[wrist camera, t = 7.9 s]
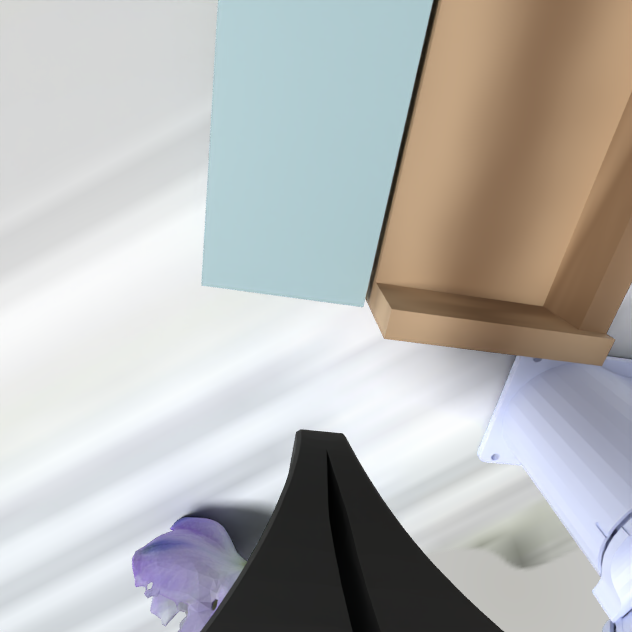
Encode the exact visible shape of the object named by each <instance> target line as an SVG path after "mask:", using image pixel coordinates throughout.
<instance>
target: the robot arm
mask: <svg viewBox="0 0 632 632" xmlns="http://www.w3.org/2000/svg"><path fill="white" fill-rule="evenodd" d="M493 454H495V455H493ZM477 455H478V457H479V459H480V460H481V461H483V462H490V463H501V464H512V465H522V467H523V468H524V469H525V471H526V472H527V474H528V475H529V477H530V478H531V479H532V481H533V482H534V484H535V485H536V486H537V488H538V489H539V491H540V492H541V494H542V495H543V496H544V498H545V499H546V501H547V502H548V503H549V505H550V506H551V508H552V509H553V510H554V512H555V513H556V515H557V516H558V518H559V519H560V520H561V522H562V523H563V525H564V526H565V527H566V529H567V530H568V532H569V533H570V535H571V536H572V537H573V539H574V540H575V542H576V543H577V544H578V546H579V547H580V549H581V550H582V552H583V553H584V554H585V556H586V557H587V559H588V560H589V561H590V563H591V564H592V566H593V567H594V569H595V570H596V571H597V573H598V574H599V576H600V577H601V578H600V581H599V582H598V584H597V585H596V586H595V588H594V589H593V590H592V593H593V594H594V596H595V597H596V599H597V600H598V602H599V603H600V605H601V606H602V608H603V609H604V611H605V612H606V614H607V615H608V617H609V618H610V619H609V620H607V622H606V623H605V624H604V626H603V629H602V632H632V359H625V358H617V357H609V356H607V357H606V359H605V361H604V363H603V365H602V366H596V365H588V364H581V363H573V362H565V361H557V360H549V359H541V358H535V359H533V357H525V356H516V359H515V361H514V364H513V366H512V368H511V371H510V373H509V376H508V378H507V381H506V383H505V386H504V388H503V391H502V393H501V396H500V398H499V400H498V403H497V405H496V408H495V410H494V413H493V415H492V418H491V420H490V423H489V425H488V427H487V430H486V432H485V435H484V437H483V440H482V442H481V445H480V447H479V450H478V453H477ZM492 455H493V456H492ZM200 632H504V631H502V630H501V629H500V628H499V627H498V626H497V625H496V624H495V623H493V622H492V621H491V620H490V619H489V618H488V617H487V616H486V615H484V613H482V612H481V611H480V610H479V609H478V608H477V607H476V606H475V605H474V604H473V603H472V602H471V601H470V600H468V599H467V598H466V597H465V596H464V595H463V594H462V593H461V592H460V591H459V590H458V589H457V588H456V587H455V586H454V585H453V584H452V583H451V581H450V580H449V579H448V578H447V577H446V576H445V575H444V574H443V573H442V572H441V571H440V570H439V569H438V568H437V567H436V566H435V565H434V564H433V563H432V562H431V561H430V559H429V558H428V557H427V556H426V555H425V554H424V553H423V551H422V550H421V549H420V548H419V547H418V545H417V544H416V543H415V542H414V541H413V539H412V538H411V537H410V536H409V534H408V533H407V532H406V531H405V529H404V528H403V527H402V525H401V524H400V523H399V521H398V520H397V519H396V517H395V516H394V515H393V513H392V512H391V510H390V509H389V508H388V506H387V505H386V503H385V502H384V500H383V499H382V497H381V496H380V494H379V493H378V491H377V490H376V488H375V487H374V485H373V484H372V482H371V480H370V479H369V477H368V476H367V474H366V472H365V471H364V469H363V467H362V466H361V464H360V462H359V460H358V459H357V457H356V455H355V453H354V452H353V450H352V448H351V446H350V444H349V442H348V441H347V439H346V437H345V436H344V434H343V433H332V432H322V431H312V430H299V431H297V432H296V436H295V441H294V447H293V452H292V458H291V463H290V469H289V474H288V477H287V480H286V483H285V486H284V488H283V491H282V493H281V495H280V498H279V500H278V503H277V505H276V507H275V510H274V512H273V514H272V516H271V518H270V520H269V522H268V524H267V526H266V528H265V530H264V532H263V534H262V536H261V538H260V540H259V542H258V544H257V545H256V547H255V549H254V551H253V552H252V554H251V556H250V558H249V559H248V561H247V563H246V565H245V566H244V568H243V570H242V571H241V573H240V574H239V576H238V578H237V579H236V581H235V582H234V584H233V585H232V587H231V588H230V590H229V591H228V593H227V594H226V596H225V597H224V599H223V600H222V602H221V603H220V605H219V606H218V608H217V609H216V611H215V612H214V614H213V615H212V616H211V618H210V619H209V621H208V622H207V623H206V625H205V626H204V627H203V629H202V630H201V631H200Z"/></svg>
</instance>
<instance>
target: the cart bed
mask: <svg viewBox="0 0 632 632" xmlns="http://www.w3.org/2000/svg"><path fill="white" fill-rule="evenodd" d="M631 283H632V0H433V3H432V7H431V12H430V16H429V20H428V25H427V29H426V34H425V38H424V42H423V47H422V51H421V56H420V60H419V64H418V69H417V73H416V78H415V82H414V86H413V91H412V95H411V100H410V104H409V108H408V113H407V117H406V122H405V126H404V130H403V135H402V139H401V144H400V148H399V152H398V157H397V161H396V166H395V170H394V174H393V179H392V183H391V188H390V192H389V196H388V201H387V205H386V210H385V214H384V218H383V223H382V227H381V231H380V236H379V240H378V245H377V249H376V253H375V258H374V262H373V267H372V271H371V275H370V280H369V284H368V289H367V293H366V297H365V299H366V301H367V303H368V305H369V307H370V309H371V312H372V314H373V316H374V318H375V320H376V322H377V324H378V327H379V329H380V331H381V333H382V335H383V337H384V339H391V340H399V341H407V342H415V343H422V344H430V345H438V346H446V347H454V348H462V349H470V350H478V351H486V352H494V353H501V354H509V355H517V356H525V357H533V358H541V359H549V360H557V361H565V362H573V363H581V364H588V365H596V366H602V365H603V363H604V361H605V359H606V357H607V355H608V353H609V351H610V349H611V347H612V345H613V343H614V341H615V339H614V338H612V337H610V336H609V335H607V334H606V333H607V331H608V329H609V327H610V325H611V323H612V321H613V319H614V317H615V315H616V313H617V311H618V309H619V307H620V305H621V303H622V301H623V299H624V297H625V295H626V293H627V291H628V289H629V287H630V285H631Z"/></svg>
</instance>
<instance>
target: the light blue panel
mask: <svg viewBox="0 0 632 632" xmlns="http://www.w3.org/2000/svg"><path fill="white" fill-rule="evenodd" d="M432 3H433V0H218V12H217V29H216V46H215V63H214V80H213V97H212V114H211V131H210V148H209V165H208V182H207V199H206V216H205V233H204V250H203V267H202V286H210V287H217V288H225V289H232V290H239V291H247V292H254V293H262V294H269V295H276V296H284V297H291V298H299V299H306V300H314V301H321V302H328V303H336V304H343V305H351V306H358V307H363V306H364V302H365V297H366V293H367V289H368V284H369V280H370V275H371V271H372V267H373V262H374V258H375V253H376V249H377V245H378V240H379V236H380V231H381V227H382V223H383V218H384V214H385V210H386V205H387V201H388V196H389V192H390V188H391V183H392V179H393V174H394V170H395V166H396V161H397V157H398V152H399V148H400V144H401V139H402V135H403V130H404V126H405V122H406V117H407V113H408V108H409V104H410V100H411V95H412V91H413V86H414V82H415V78H416V73H417V69H418V64H419V60H420V56H421V51H422V47H423V42H424V38H425V34H426V29H427V25H428V20H429V16H430V12H431V7H432Z"/></svg>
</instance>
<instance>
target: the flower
mask: <svg viewBox="0 0 632 632" xmlns="http://www.w3.org/2000/svg"><path fill="white" fill-rule="evenodd" d="M170 529H171V530H173V531H171V532H168V533H165V534H163V535H160V536H159V537H157V538H155V539H154V540H152V541H151V542H150V543H148V544H147V545H145V546H144V547H142V548H141V549H139V550H137V551H136V552H135V554H134V556H133V558H132V567H133V572H134V577H135V586H136V587H139V586H144V587H146V591H145V593H144V594H145V595H146V597H147V598H148V597H151V596H153V598H152V604H151V610H150V611H151V613H153V614H155V615H156V616H158V617H159V618H160V619H161V621H162V625H164V626H166V625H167V624H168V623H169V621H170V620H171V619H172V618H173V617H174V616H175V615H176V614H177V613H178V612H179V611H182V612H185V613H186V617H185V618H184V619H183V620H182V621H181V623H180V630H179V631H178V632H200V631H201V630H202V629H203V627H204V626H205V625H206V623H207V622H208V621H209V619H210V618H211V616H212V615H213V614H214V612H215V611H216V609H217V608H218V606H219V605H220V603H221V602H222V600H223V599H224V597H225V596H226V594H227V593H228V591H229V590H230V588H231V587H232V585H233V584H234V582H235V581H236V579H237V578H238V576H239V574H240V573H241V571H242V570H243V568H244V566H245V565H246V563H247V561H246V560H244V559H243V558H242V557H241V556H240V555H239V554H238V553H237V552H236V550H235V547H234V545H233V543H232V540H231V538H230V536H229V535H228V533H227V532H226V530H225V528H224V527H223V526H222V525H221V524H219V523H218V522H216V521H214V520H211V519H208V518H196V517H183V518H181V519H179V520H177V521H176V522H175V523H174V525H173V526H172V527H171V528H170ZM150 582H153V586H152V588H151V589H149V590H147V585H148V584H149V583H150Z"/></svg>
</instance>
